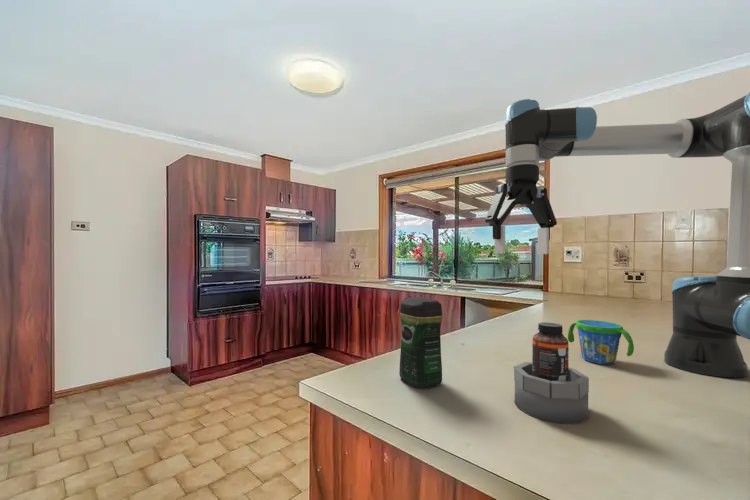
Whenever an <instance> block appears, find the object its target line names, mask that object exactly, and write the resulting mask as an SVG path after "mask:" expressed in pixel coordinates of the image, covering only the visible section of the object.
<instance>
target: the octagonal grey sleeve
mask: <svg viewBox="0 0 750 500" xmlns="http://www.w3.org/2000/svg"><path fill="white" fill-rule="evenodd" d="M532 364H533V363H532V361H526V362H522V363H519V364H518V365H515V366H513V376H514V377H513V380H514V381H513V382H514V404H515V407H517V409H518V410H519V411H521V412H523V413H525V414H526V415H529V416H531V417H533V418H535V419H538V420H542V421H545V422H551V423H556V424H565V425H573V424H574V425H575V424H580V423H581V424H582V423H583V422H586V421H587V420H588V419H589V393H590V391H589V390H590V385H589V384H590V381H589V380H590V378H589V376H587V375H586V374H584V373H582V372H581V371H579V370H577V369H575V368H572V367H569V377H568V378H569V379H568V381H549V380H546V379H542V378H538V377H535V376H532V370H533V369H532V367H533V366H532Z"/></svg>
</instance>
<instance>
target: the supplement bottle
mask: <svg viewBox="0 0 750 500" xmlns="http://www.w3.org/2000/svg"><path fill="white" fill-rule="evenodd" d="M537 329H538V331H539V332H537V333H535V334H534V335H533V336H532V352H531V353H532V354H531V355H532V361H531V362H532V363H533V364H532V366H533V367H532V369H533V370H532V376H535V377H538V378H542V379H546V380H549V381H568V379H569V378H568V377H569V368H570V367H569V358H570V357H569V354H570V353H569V349H570V348H569V340H568V337H565V335H564V334H563V325H562V324H560V323H556V322H539V323H538V326H537Z"/></svg>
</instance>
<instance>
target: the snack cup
mask: <svg viewBox="0 0 750 500" xmlns="http://www.w3.org/2000/svg"><path fill="white" fill-rule="evenodd" d="M575 328H576V329H577V332H578V341H579V345H580V352H581V357H582V358H583V360H584V361H586V362H589V363H595V364H599V365H608V366H610V365H614V364H615V363H616V361H617V356H618V352H619V346H620V340H621V337H622V336H624V338H625V340H626V341H627V343H628V346H627V352H626V356H627V357H630V356H632V355H633V354H634V350H635V344H634V341H633V338H632V336H631V334H630V333H629V332H628V331H627V330H626V329H624V327H623V325H622V324H619V323H616V322H615V323H614V322H610V321H605V320H604V321H603V320H595V319H578V320H576V321H574V322H572V323H571V324H570V326H569V328H568V332H567V340H568V343H574V342H575V336H574V330H575Z"/></svg>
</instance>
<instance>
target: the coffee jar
mask: <svg viewBox="0 0 750 500" xmlns="http://www.w3.org/2000/svg"><path fill="white" fill-rule="evenodd" d="M399 316H400V317H399V318H400V327H401V329H400V331H401V333H400V334H401V335H400V336H401V337H400V338H401V339H400V358H399V371H398V372H399V377H400V379H402V380H403V381H404V382H405V383H407V384H409V385H411V386H412V387H415V388H427V389H431V388H435V387H437V386H439V385H440V384H442V382H443V365H442V363H443V361H442V344H441V329H442V328H441V327H442V322H443V316H444V315H443V308H442V303H441V302H440V301H439V300H435V299H432V298H426V297H422V296H413V297H412V296H410V297H404V298H403V299H402V301H401V302H400V307H399Z"/></svg>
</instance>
